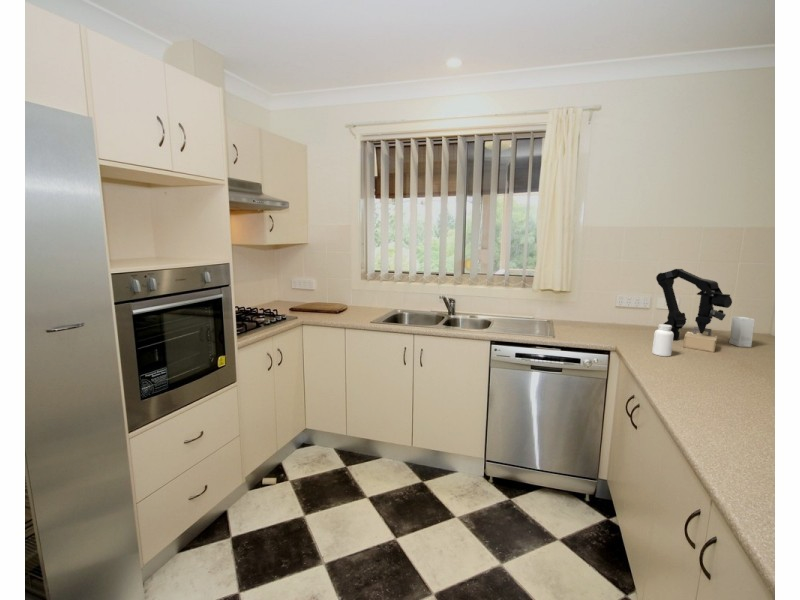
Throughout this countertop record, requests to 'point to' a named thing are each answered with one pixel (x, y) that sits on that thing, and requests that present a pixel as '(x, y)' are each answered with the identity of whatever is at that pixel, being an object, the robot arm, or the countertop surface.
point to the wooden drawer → (699, 344)
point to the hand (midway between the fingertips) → (701, 332)
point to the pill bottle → (663, 340)
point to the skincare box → (741, 331)
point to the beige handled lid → (701, 336)
